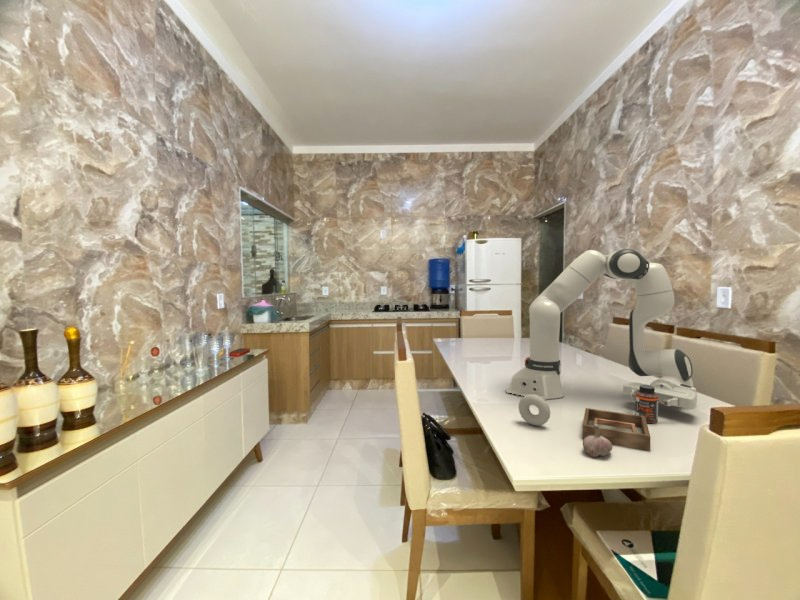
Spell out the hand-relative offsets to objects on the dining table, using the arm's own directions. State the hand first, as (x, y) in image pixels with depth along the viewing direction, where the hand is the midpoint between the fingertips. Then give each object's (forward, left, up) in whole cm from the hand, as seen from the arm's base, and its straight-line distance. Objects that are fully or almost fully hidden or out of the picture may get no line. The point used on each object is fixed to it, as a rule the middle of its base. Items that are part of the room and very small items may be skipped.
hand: (648, 399), depth 113 cm
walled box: (-10, -18, -6) cm, 21 cm away
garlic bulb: (-14, -33, -7) cm, 37 cm away
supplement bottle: (-1, -2, -7) cm, 7 cm away
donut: (-32, -22, -7) cm, 39 cm away
